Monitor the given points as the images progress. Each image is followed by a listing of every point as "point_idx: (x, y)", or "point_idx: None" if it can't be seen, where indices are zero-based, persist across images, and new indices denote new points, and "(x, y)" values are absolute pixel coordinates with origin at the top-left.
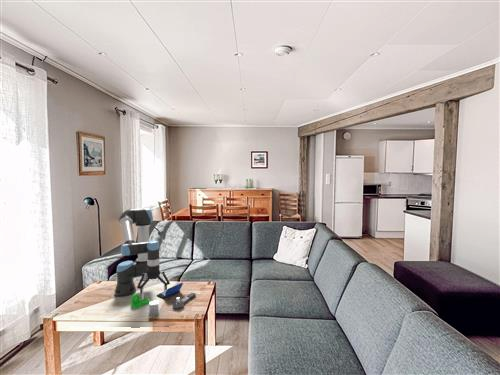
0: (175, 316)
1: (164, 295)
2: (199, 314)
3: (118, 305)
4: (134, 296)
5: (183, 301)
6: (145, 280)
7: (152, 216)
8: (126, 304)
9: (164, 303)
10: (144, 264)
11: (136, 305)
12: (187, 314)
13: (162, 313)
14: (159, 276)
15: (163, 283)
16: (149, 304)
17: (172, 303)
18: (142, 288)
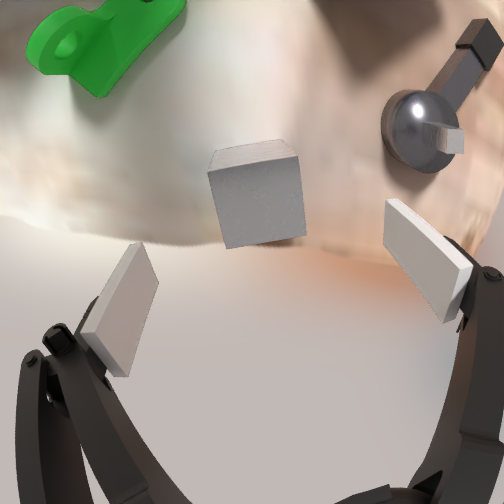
0: None
1: (388, 246)
2: (473, 242)
3: (6, 70)
4: (42, 59)
5: (455, 107)
6: (106, 474)
7: None
8: None
9: (318, 36)
10: None
11: (96, 86)
12: (439, 232)
13: (315, 191)
14: (470, 481)
15: (458, 356)
16: (223, 233)
17: (397, 129)
18: (106, 361)
